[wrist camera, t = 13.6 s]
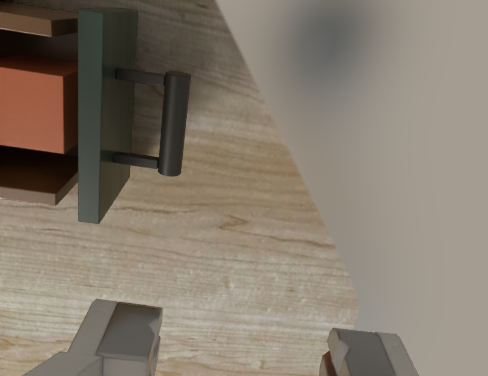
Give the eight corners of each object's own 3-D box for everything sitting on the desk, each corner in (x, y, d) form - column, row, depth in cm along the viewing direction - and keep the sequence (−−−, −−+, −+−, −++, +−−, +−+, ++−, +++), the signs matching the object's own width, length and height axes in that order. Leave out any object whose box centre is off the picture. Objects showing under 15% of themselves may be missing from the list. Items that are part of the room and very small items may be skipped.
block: (92, 64, 27) (62, 76, 22) (91, 131, 28) (64, 154, 24) (21, 53, 26) (-23, 62, 22) (25, 121, 28) (-16, 143, 24)
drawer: (203, 21, 27) (190, 26, 20) (185, 184, 31) (170, 233, 25) (-86, -26, 26) (-201, -38, 19) (-61, 150, 30) (-148, 192, 23)
